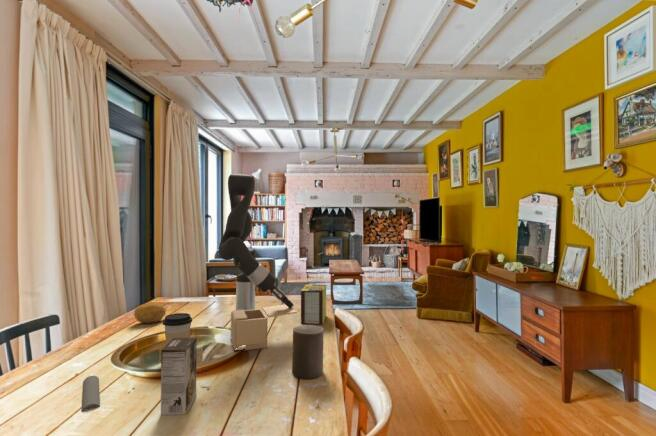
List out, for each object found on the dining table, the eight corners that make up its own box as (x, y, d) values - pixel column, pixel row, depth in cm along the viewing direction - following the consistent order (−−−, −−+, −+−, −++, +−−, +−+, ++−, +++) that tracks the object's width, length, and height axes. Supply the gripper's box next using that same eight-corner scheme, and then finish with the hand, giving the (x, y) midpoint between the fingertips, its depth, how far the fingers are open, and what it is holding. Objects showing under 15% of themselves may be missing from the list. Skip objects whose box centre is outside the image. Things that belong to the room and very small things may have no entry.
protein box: (326, 315, 179) (326, 284, 179) (322, 324, 163) (323, 290, 163) (305, 315, 180) (305, 284, 180) (300, 323, 164) (300, 290, 164)
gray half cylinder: (99, 380, 107) (99, 374, 107) (100, 409, 91) (101, 401, 91) (82, 383, 105) (82, 377, 105) (80, 413, 89) (80, 406, 89)
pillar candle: (299, 382, 105) (300, 331, 106) (287, 369, 114) (288, 322, 114) (328, 376, 110) (329, 327, 110) (314, 364, 119) (315, 319, 119)
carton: (230, 338, 143) (230, 309, 143) (260, 335, 147) (260, 307, 147) (234, 351, 129) (234, 319, 129) (267, 347, 133) (267, 316, 133)
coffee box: (172, 397, 96) (173, 337, 96) (197, 396, 97) (197, 336, 97) (159, 415, 87) (159, 349, 87) (186, 414, 87) (187, 348, 88)
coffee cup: (198, 357, 123) (198, 314, 123) (176, 367, 115) (176, 321, 115) (178, 353, 127) (178, 311, 127) (155, 362, 119) (155, 317, 119)
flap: (262, 307, 147) (288, 303, 151) (262, 309, 147) (288, 305, 151) (268, 316, 134) (296, 311, 138) (268, 317, 134) (297, 313, 138)
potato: (168, 302, 165) (162, 297, 172) (136, 308, 157) (131, 302, 164) (168, 322, 166) (163, 316, 173) (137, 329, 158) (132, 322, 165)
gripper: (271, 272, 135) (302, 303, 139) (265, 268, 147) (294, 296, 151) (257, 287, 133) (289, 317, 137) (252, 281, 145) (281, 309, 149)
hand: (291, 306), depth 144 cm, fingers closed
